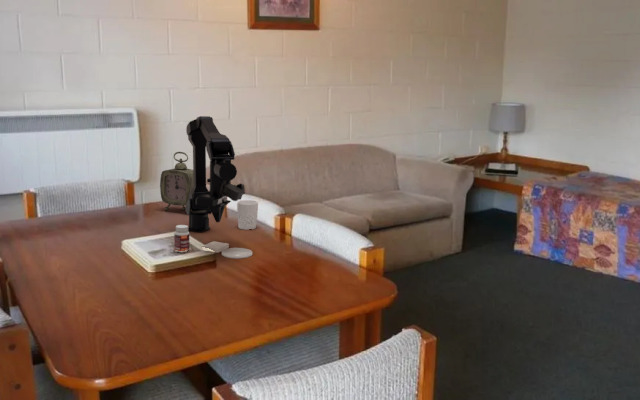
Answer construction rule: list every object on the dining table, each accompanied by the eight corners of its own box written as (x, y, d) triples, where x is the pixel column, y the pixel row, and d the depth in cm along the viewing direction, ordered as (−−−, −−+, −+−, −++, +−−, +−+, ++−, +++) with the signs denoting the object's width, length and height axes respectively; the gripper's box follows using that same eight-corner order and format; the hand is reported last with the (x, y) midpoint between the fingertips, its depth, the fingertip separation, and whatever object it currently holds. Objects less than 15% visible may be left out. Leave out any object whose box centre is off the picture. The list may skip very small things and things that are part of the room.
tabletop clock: (160, 211, 251) (159, 151, 246) (173, 207, 259) (173, 149, 254) (189, 215, 246) (190, 154, 241) (202, 211, 254) (202, 152, 249)
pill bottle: (182, 254, 194) (182, 228, 193) (171, 251, 197) (171, 226, 195) (192, 250, 198) (192, 226, 197) (181, 248, 201) (181, 223, 199)
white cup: (259, 226, 235) (260, 200, 233) (255, 231, 227) (255, 205, 225) (239, 224, 235) (239, 199, 233) (234, 229, 228) (235, 203, 226)
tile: (213, 246, 206) (202, 251, 200) (213, 241, 206) (202, 246, 200) (228, 248, 204) (218, 253, 198) (228, 243, 204) (218, 248, 198)
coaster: (215, 255, 195) (215, 253, 194) (230, 247, 204) (230, 246, 204) (243, 260, 191) (243, 258, 191) (257, 252, 200) (257, 250, 200)
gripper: (226, 182, 187) (225, 231, 190) (253, 174, 204) (252, 219, 207) (194, 178, 191) (194, 226, 194) (224, 171, 208) (224, 215, 211)
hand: (218, 222), depth 201 cm, fingers closed
